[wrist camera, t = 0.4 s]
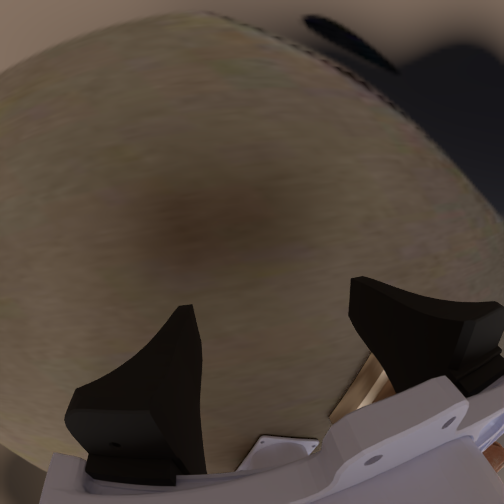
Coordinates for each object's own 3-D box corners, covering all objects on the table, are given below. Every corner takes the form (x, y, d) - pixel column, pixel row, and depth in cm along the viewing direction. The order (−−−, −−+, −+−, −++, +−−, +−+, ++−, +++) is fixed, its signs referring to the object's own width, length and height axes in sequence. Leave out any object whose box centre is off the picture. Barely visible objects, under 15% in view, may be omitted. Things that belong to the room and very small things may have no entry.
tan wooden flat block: (390, 419, 30) (400, 432, 28) (328, 417, 28) (337, 434, 25) (446, 333, 28) (461, 344, 25) (391, 316, 26) (407, 329, 23)
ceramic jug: (428, 469, 40) (455, 506, 26) (464, 426, 37) (499, 465, 23) (467, 450, 43) (491, 479, 30) (497, 411, 40) (527, 439, 27)
